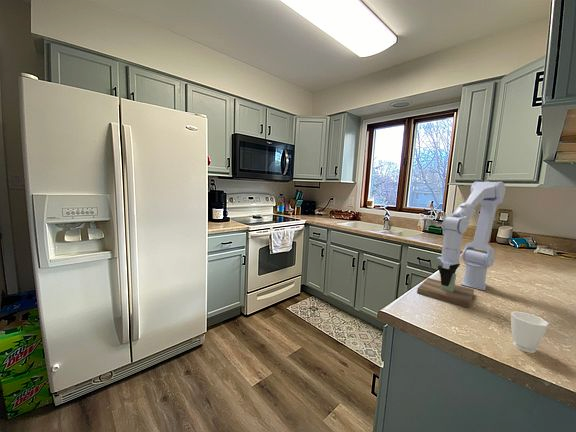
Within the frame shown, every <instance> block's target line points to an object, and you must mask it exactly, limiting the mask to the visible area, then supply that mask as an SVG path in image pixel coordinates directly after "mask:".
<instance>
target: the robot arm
mask: <svg viewBox="0 0 576 432" xmlns="http://www.w3.org/2000/svg"><path fill="white" fill-rule="evenodd" d="M506 190H507V189H506V185H505V183H504V182H503V181H477V180H476V181H474V182H473V183H472V184H471V186H470V195H468V197H467V199H466V201H465V202H463V203H462V202H461V203H460V204H459V205H458V206H457V208H456V209H455V210H454V211H453V212H452V214H451V215H448V216H446V217H444V219H442V223H441V229H442V235H443V240H442V247H441V248H442V249H441V256H437V260H440V262H441V263H442V265H440V264H438V265H437V270H438V272H439V275H440V281H441V284H442V285H444V286H448V285H449V283H450V280H451V277H452V275H453V274H456V272H457V269H458V268H459V267H460V266H461V263H460V257H461V259H462V261H463V262H464V264H465V268H464V276H463V279H462V281H461V285H460V286H463V287H467V288H471V289H477V290H480V291H485V290H486V287H487V283H486V280H487V272H488V268H491V267H492V266H493V265H494V262H495V258H496V257H495V254H496V252H495V249H494V248H493V247H492V246H491V245H490V244H489V240H490V237H491V231H492V228H493V223H494V220H495V215H496V213H497V212H496V211H497V207H498V205H500V204H502V203H503V200H504V198H505V193H506ZM478 205H481V206H480V210H479V211H480V212H479V215H478V220H477V223H476V228H475V232H474V236H473V240H472V241H471V242H468V243H466V244H465V246H464V249H463V251H462V252H461V250H462V243H463V235H464V233H466V232H467V229H468V226H469V223H470V222H469V221H470V220H471V218H472V217H473V216H474V215H475V214H476V207H477V206H478ZM460 255H461V256H460Z"/></svg>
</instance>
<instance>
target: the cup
mask: <svg viewBox="0 0 576 432" xmlns="http://www.w3.org/2000/svg"><path fill="white" fill-rule="evenodd" d="M549 324H550V323H549V322H547V321H546V320H545V319H543V318H542V317H540V316H538V315H537V316H536V315H533V314H531V313H528V312H523V311H517V310H514V311H512V312H511V313H510V326H511V327H510V330H511V331H510V332H511V337H512V341H513V342H512V345H513V346H514V347H515V348H517V349H519V350H520V351H523V352H525V353H528V354H529V353H530V354H535V353H536V352H537V348H538V347H539V345H540V344H541V342H542V341H543V338H544V335H545V334H546V331H547V329H548V327H549Z"/></svg>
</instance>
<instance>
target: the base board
mask: <svg viewBox="0 0 576 432" xmlns="http://www.w3.org/2000/svg"><path fill="white" fill-rule="evenodd" d="M440 287H441V280H439V279H434V278H430V277H427V278H426V279H425V280H424V281H423V282H422V283H421V284H420V285H419V286H418V287H417V289H416V290H417V291H416V293H417V294H420V295H422V296H423V295H424V296H426V297H429V298H432V299H437V300H439V301H443V302H445V303H449V304H453V305H456V306H459V307H462V308H467V309H469V308H470V305H471V302H472V299H473V296H474V293H475V292H474V291H475V288H471V287H467V286H463V285H457V284H455V288H454V291H453V292H450V291H446V290H442V289H440Z"/></svg>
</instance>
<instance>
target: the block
mask: <svg viewBox="0 0 576 432" xmlns="http://www.w3.org/2000/svg"><path fill="white" fill-rule="evenodd" d="M456 278H457V274H456V273H455V274H453V275H452V277H451V280H450V283H449V285H448V286H444V285H442V284H441V287H440V289H442V290H446V291H450V292H453V291H454V288H455V285H456V280H457V279H456Z"/></svg>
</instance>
